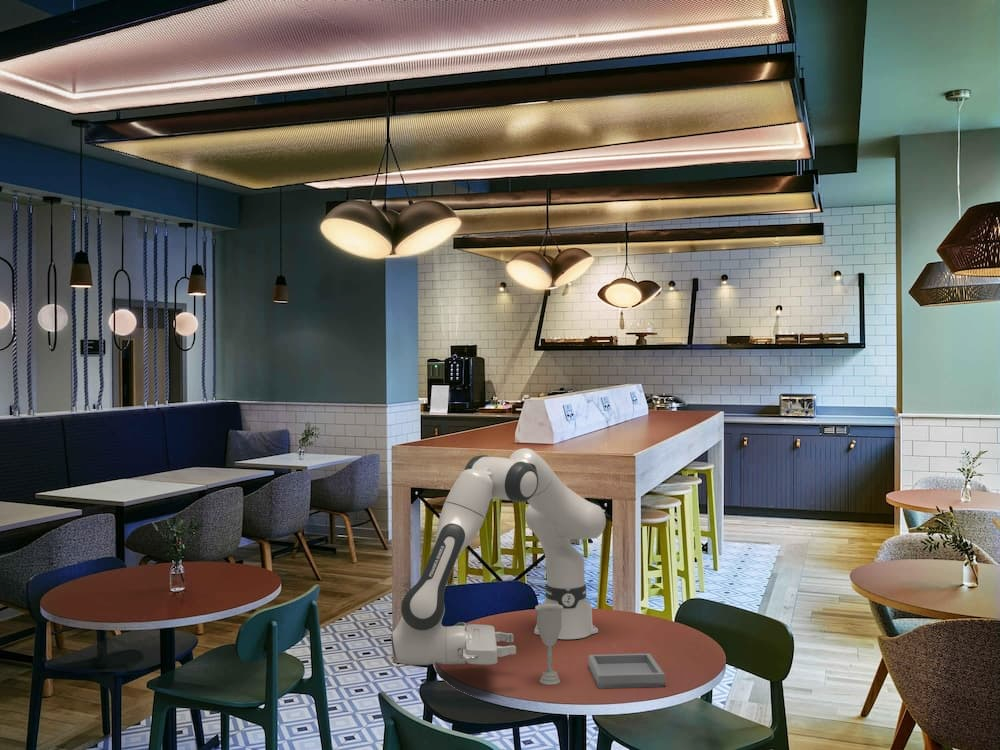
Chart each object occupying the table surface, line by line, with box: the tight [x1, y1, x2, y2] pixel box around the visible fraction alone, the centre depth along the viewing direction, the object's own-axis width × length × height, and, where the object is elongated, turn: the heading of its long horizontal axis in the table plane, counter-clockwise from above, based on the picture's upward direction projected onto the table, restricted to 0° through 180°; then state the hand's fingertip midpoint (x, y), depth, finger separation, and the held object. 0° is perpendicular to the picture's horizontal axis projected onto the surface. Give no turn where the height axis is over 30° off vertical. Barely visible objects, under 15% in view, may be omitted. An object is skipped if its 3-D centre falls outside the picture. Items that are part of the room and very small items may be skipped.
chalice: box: [534, 603, 563, 686], centre depth 206 cm, size 7×7×18 cm
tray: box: [587, 652, 666, 689], centre depth 209 cm, size 16×16×3 cm
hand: (514, 643), depth 206 cm, fingers open, 8 cm apart
